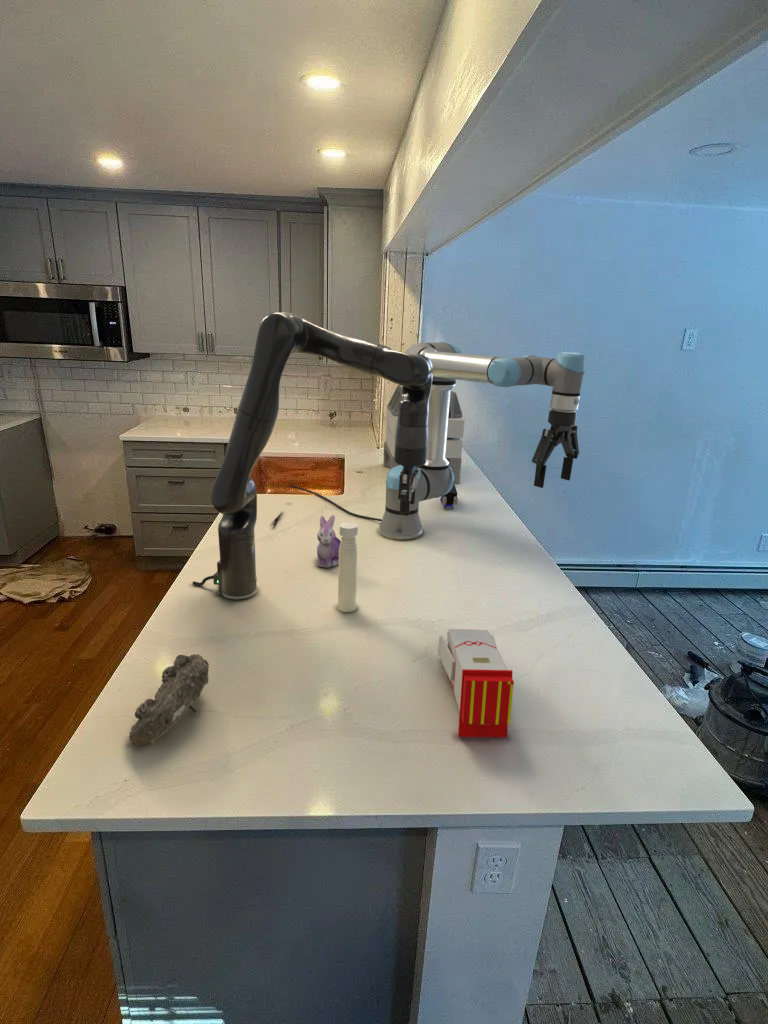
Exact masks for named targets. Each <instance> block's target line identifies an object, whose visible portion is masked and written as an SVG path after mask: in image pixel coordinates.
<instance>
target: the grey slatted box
mask: <svg viewBox="0 0 768 1024" xmlns="http://www.w3.org/2000/svg"><path fill="white" fill-rule="evenodd" d="M401 397H402V386H401V385H398V384H397V386H396V388H395V390H394V392H393V394H392V395H391V398H390V400H389V402H388V404H387V405H386V413H385V414H386V415H385V423H386V428H385V438H384V442H383V466H384V467H388V468H389V470H390V469H392V468H394V467H396V466H401V465H398V464H396V463H395V461H394V457H395V438H396V429H397V421H398V406H399V402H400V400H401ZM464 429H465V419H464V418H463V411H462V408H461V405H460V402H459V398H458V395H457V392H455V391H453V390H451V392H450V404H449V417H448V429H447V441H446V453H445V458H446V459H447V461H448V462H449V466H450V467H451V469H452V473H454V484H455V483H456V484H459V483H461V472H462V461H463V460H462V453H463V442H464V441H463V440H462V439H463V438H464V431H465V430H464Z"/></svg>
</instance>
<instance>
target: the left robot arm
mask: <svg viewBox="0 0 768 1024" xmlns="http://www.w3.org/2000/svg"><path fill="white" fill-rule="evenodd" d="M292 354H307V355H312V356H313V355H314V356H317V357H322V358H324V359H327V360H330V361H332V362H335V363H337V364H339V365H341V366H343V367H346V368H348V369H350V370H352V371H353V370H354V371H356V372H360V373H363V374H367V375H370V376H374V377H378V378H382V379H384V380H386V381H389V382H391V383H394V384H395V385H397V386H398V385H400V386H401V387H402V397H401V400H400V402H399V406H398V421H397V429H396V438H395V457H394V461H395V463H396V464H398V465H402V466H403V469H402V472H400V476H399V478H400V480H399V495H398V500H400V515H404V516H408V515H409V511H410V504H414V503H415V492H416V488H417V484H418V475H419V466H423V465H425V464H426V459H427V444H428V414H429V397H430V392H431V386H432V378H433V366H432V363H431V361H430V360H429V358H428V357H426V356H425V355H422V354H414V355H410V354H406V353H405V352H403V351H398V350H394V349H392V348H391V347H389V346H387V345H384V344H382V343H378V342H375V341H371V340H367V339H364V338H359V337H356V336H352V335H347V334H343V333H340V332H336V331H333V330H330V329H327V328H325V327H323V326H320V325H317V324H314V323H312V322H310V321H309V320H306V319H304V318H302V317H300V316H298V315H296V314H295V313H293V312H288V311H278V312H277V311H276V312H271V313H269V314H268V315H266V316H265V317H264V318H263V319H262V321H261V322H260V324H259V327H258V330H257V334H256V341H255V347H254V350H253V358H252V363H251V366H250V369H249V373H248V376H247V379H246V383H245V386H244V389H243V392H242V396H241V399H240V400H239V401H240V402H239V404H238V407H237V411H236V415H235V418H234V420H233V426H232V429H231V433H230V436H229V439H228V443H227V446H226V451H225V454H224V457H223V461H222V463H221V466H220V468H219V471H218V473H217V475H216V477H215V480H214V482H213V484H212V486H211V490H210V502H211V505H212V506H213V508H214V509H215V510H216V511H217V513H220V514H222V515H221V516H222V517H221V519H220V520H219V523H218V525H217V526H218V527H217V534H218V549H219V550H218V551H219V560H218V561H217V562H216V569H217V570H216V572H215V573H214V574H213V575H209V576H206V577H204V578H203V580H202V581H201V582H198V581H192V585H195V586H199V587H202V586H203V585H205V584H206V583H207V581H210V580H213V585H215V586H218V595H219V596H222V597H223V598H226V599H227V600H233V601H240V600H246V599H250V598H251V597H253V596H256V594H257V593H258V586H257V585H258V583H257V581H258V577H257V564H256V563H257V561H256V540H255V534H256V533H255V529H256V528H255V527H256V523H257V519H258V491H257V487H256V483H255V481H254V479H252V476H251V473H252V470H253V468H254V465H255V464H256V462H257V461H258V459H259V458H260V456H261V454H262V453H263V451H264V450H265V448H266V446H267V444H268V443H269V441H270V438H271V436H272V434H273V432H274V428H275V425H276V422H277V419H278V415H279V410H280V385H281V379H282V375H283V373H284V370H285V367H286V365H287V362H288V360H289V357H290V355H292ZM404 491H406V495H403V492H404Z"/></svg>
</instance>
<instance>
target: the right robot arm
mask: <svg viewBox="0 0 768 1024" xmlns="http://www.w3.org/2000/svg"><path fill="white" fill-rule="evenodd" d="M404 353H406V354H410V355H414V354H422V355H425V356H426V357H428V358H429V360H430V361H431V363H432V366H433V378H432V386H431V392H430V397H429V414H428V444H427V459H426V464H425V465H423V466H419V475H418V484H417V488H416V492H415V503H414V504H410V511H409V515H408V516H404V515H400V500H398V495H399V480H400V478H399V476H400V472H402V469H403V466H402V465H401V466H396V467H394V468H392V469H390V468H389V470H388V472H387V474H386V479H385V504H384V505H385V507H384V508H385V509H384V513H383V515H382V518H376V517H371V516H367V515H362V514H357V513H354V512H351V511H349V510H347V509H346V508H344V507H342V506H340V505H339V504H338V503H336V502H334V501H332V500H331V499H329V498H327V497H325V496H324V495H321V494H319V493H317V492H315V491H312V490H309V489H306V488H304V487H300V486H298V485H297V486H296V485H292V484H290V485H289V487H290V488H293V489H296V490H300V491H304V492H307V493H310V494H312V495H315V496H317V497H320V498H322V499H324V500H325V501H327V502H329V503H330V504H332V505H334V506H336V507H337V508H338V509H340V510H342V511H344V512H345V513H346V514H348V515H351V516H354V517H358V518H360V519H367V520H372V521H377V522H379V526H378V533H379V534H380V535H381V536H382V537H385V538H387V539H389V540H395V541H410V540H415V539H418V538H420V537H421V536H422V535H423V525H422V524H421V518H420V515H419V507H420V506H419V505H420V502H423V501H427V500H431V499H437V498H441V496H443V495H445V494H447V493H448V492H449V491H450V490H451V489H452V487H453V484H455V483H454V473H452V469H451V467H450V466H449V462H448V461H447V459H446V458H445V453H446V441H447V429H448V417H449V404H450V392H451V391H452V389H453V388H454V387H455V386H456V385H457V380H459V381H466V382H475V383H483V384H490V385H493V386H495V387H498V388H509V387H516V386H529V385H540V386H547V387H552V389H551V397H550V403H549V408H550V410H549V411H548V418H547V423H548V424H550V428H549V429H548V428H543V429H542V433H541V437H540V439H539V442H538V444H537V446H536V449H535V451H534V454H533V456H532V458H531V463H533V464H535V465H536V466H535V471H534V481H533V486H534V487H537V488H541V489H543V488H544V485H545V480H546V478H545V477H546V471H547V464H546V463H547V462H548V460H549V458H550V456H551V455H552V453H553V451H554V449H555V448H556V447H557V446H558V445H560V444H561V446H562V449H563V451H564V455H565V456H563V462H562V466H561V473H560V479H561V480H566V481H571V475H572V469H573V463H574V460H577V459H578V457H579V455H580V448H579V440H578V425H576V423H577V417H578V413H577V411H578V410H579V404H580V397H581V391H582V385H583V380H584V373H585V371H586V370H585V369H586V356H585V354H584V353H581V352H570V351H561V352H559V353H557V355H556V358H551V357H544V356H537V355H523V356H521V357H507V356H495V355H483V354H482V355H481V354H470V353H463V352H462V350H461V349H460V347H459V346H458V345H457V344H455V343H451V342H445V341H444V342H442V341H441V342H440V341H439V342H438V341H437V342H417V343H415V344H412V345H411V346H409V347H408V348H407V350H406V351H405V352H404ZM403 495H406V491H404V492H403Z"/></svg>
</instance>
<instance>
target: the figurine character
mask: <svg viewBox="0 0 768 1024" xmlns="http://www.w3.org/2000/svg"><path fill="white" fill-rule="evenodd" d="M439 501H440V503H441V505H442V506H443V508H444V509H445V510H447V508H448V507H450V508H451V510H454V506H458V501H459V497H458V491H457V487H456V485H455V483H454V484H453V487H452V489H451V490H450V491H449V492H448V493H447V494H445V495H443V496H441V497H440V498H439Z"/></svg>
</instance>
